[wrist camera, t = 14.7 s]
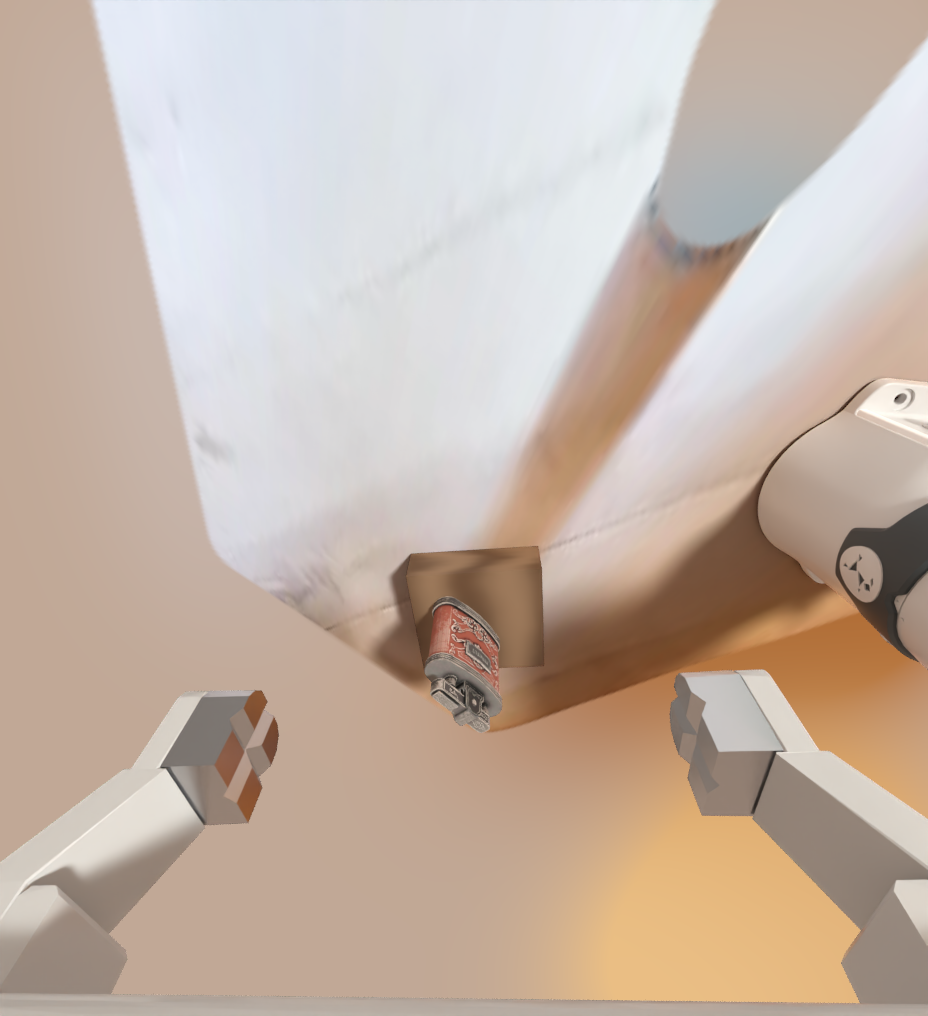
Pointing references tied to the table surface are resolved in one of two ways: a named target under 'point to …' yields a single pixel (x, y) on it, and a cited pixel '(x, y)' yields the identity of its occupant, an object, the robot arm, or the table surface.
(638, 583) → the table surface
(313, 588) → the table surface
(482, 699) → the lighter
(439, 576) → the walnut base
